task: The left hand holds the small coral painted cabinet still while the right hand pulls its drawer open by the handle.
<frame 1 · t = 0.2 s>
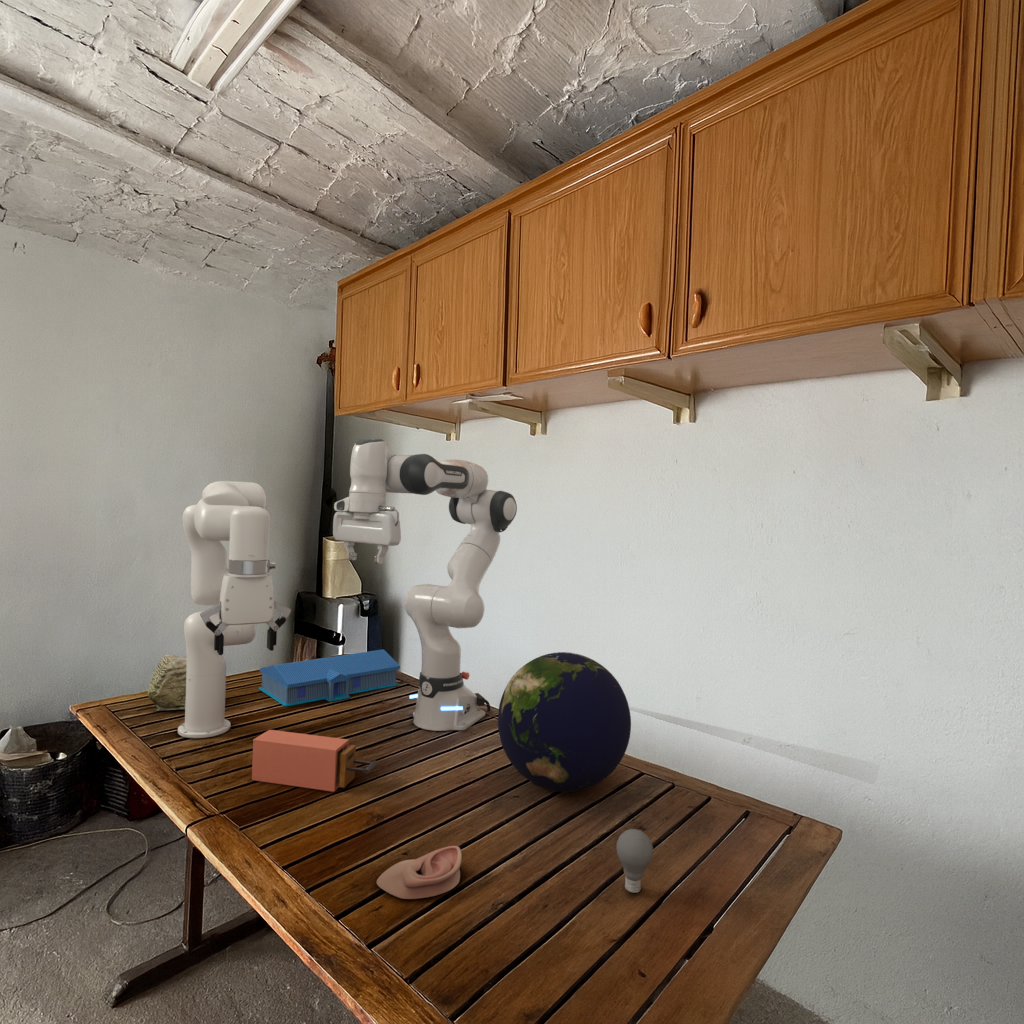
left hand: (245, 651, 130), 31 cm above the table, tool pointing down, fingers open, 9 cm apart
right hand: (365, 561, 154), 48 cm above the table, tool pointing down, fingers open, 8 cm apart
light bulb: (632, 891, 106), on the table
drawer: (322, 762, 140), point 5 cm above the table, slide at 0.8 cm
cabinet: (299, 779, 141), on the table
globe: (560, 786, 144), on the table
fossil: (183, 706, 185), on the table
anatomical model: (419, 880, 106), on the table
model building: (332, 688, 208), on the table
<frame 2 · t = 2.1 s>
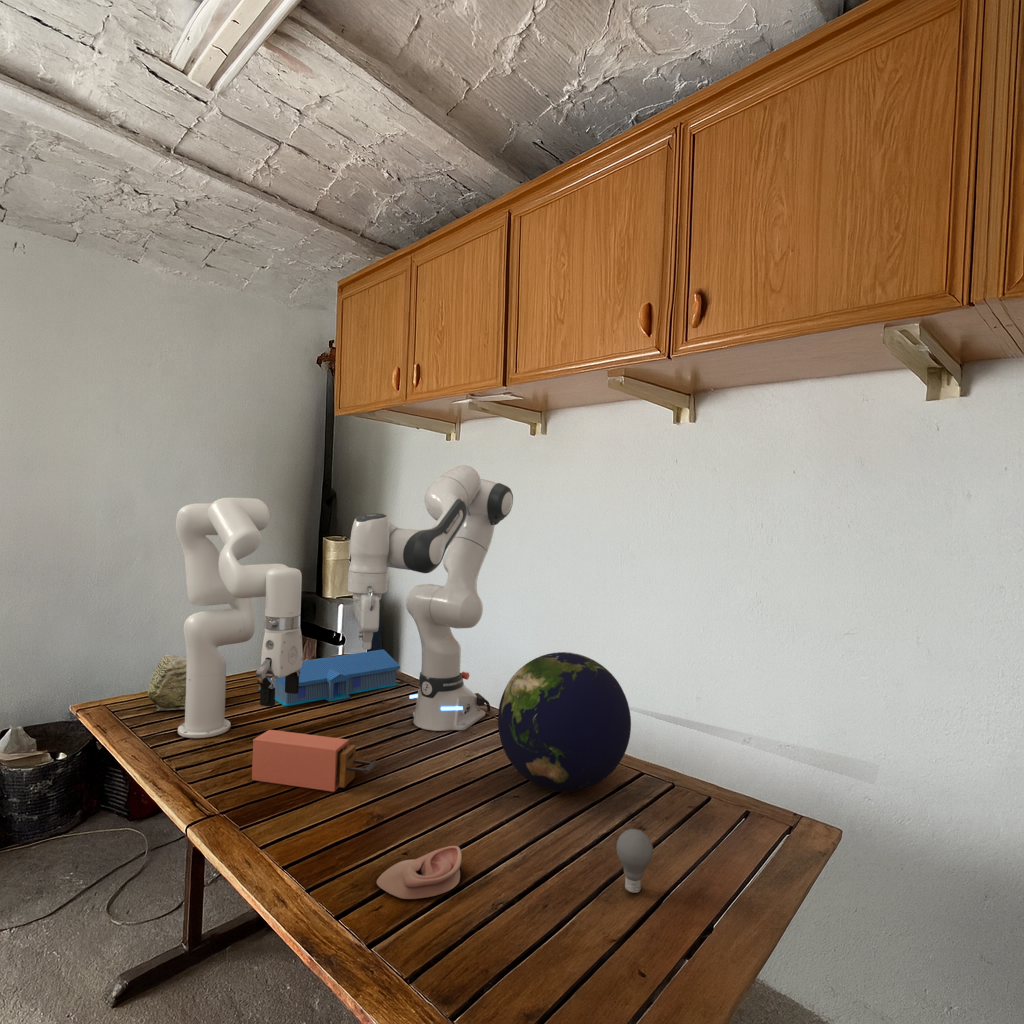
left hand: (279, 699, 142), 18 cm above the table, tool pointing down, fingers open, 9 cm apart
right hand: (364, 644, 145), 30 cm above the table, tool pointing down, fingers open, 8 cm apart
nothing on the table moved.
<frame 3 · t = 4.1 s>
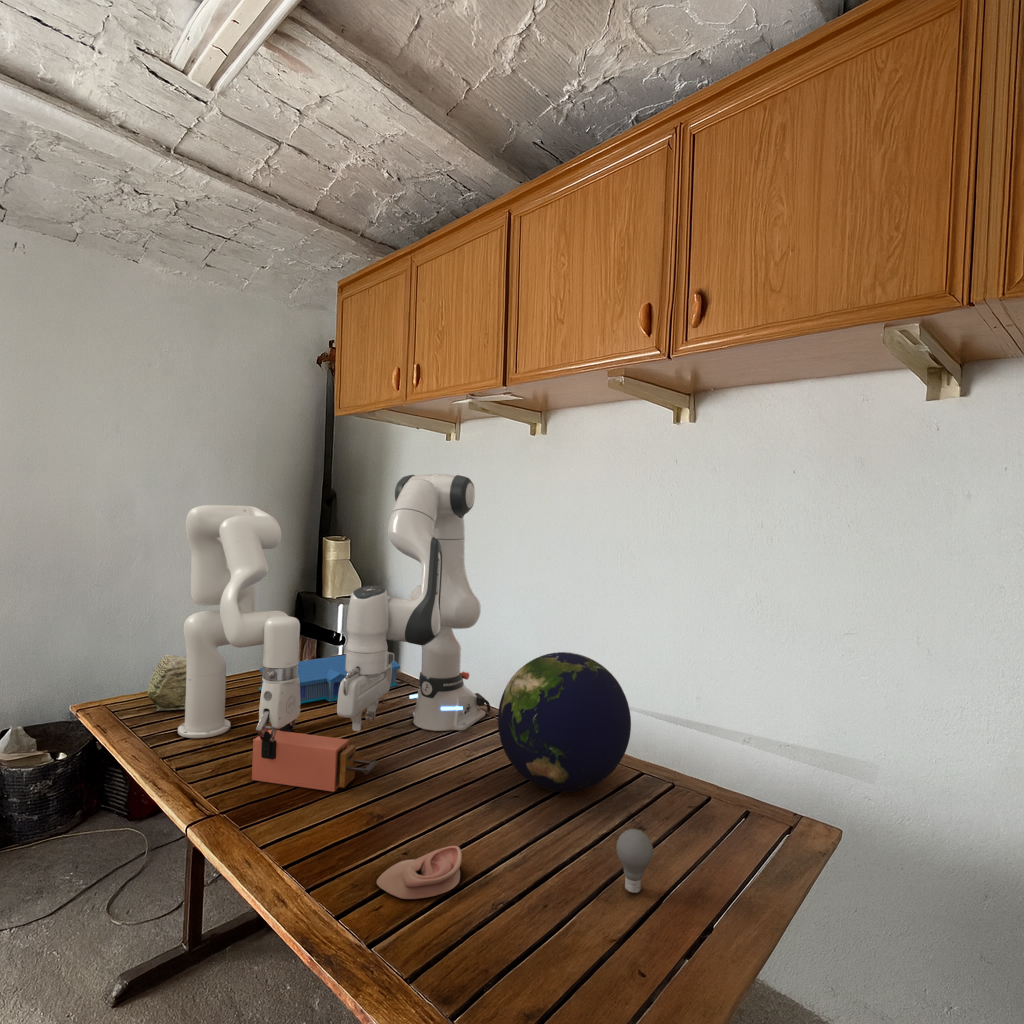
left hand: (277, 751, 142), 6 cm above the table, tool pointing down, fingers closed on cabinet, 6 cm apart
right hand: (364, 724, 138), 14 cm above the table, tool pointing down, fingers open, 5 cm apart
cabinet: (299, 779, 141), on the table, touching left hand
everything else where it was.
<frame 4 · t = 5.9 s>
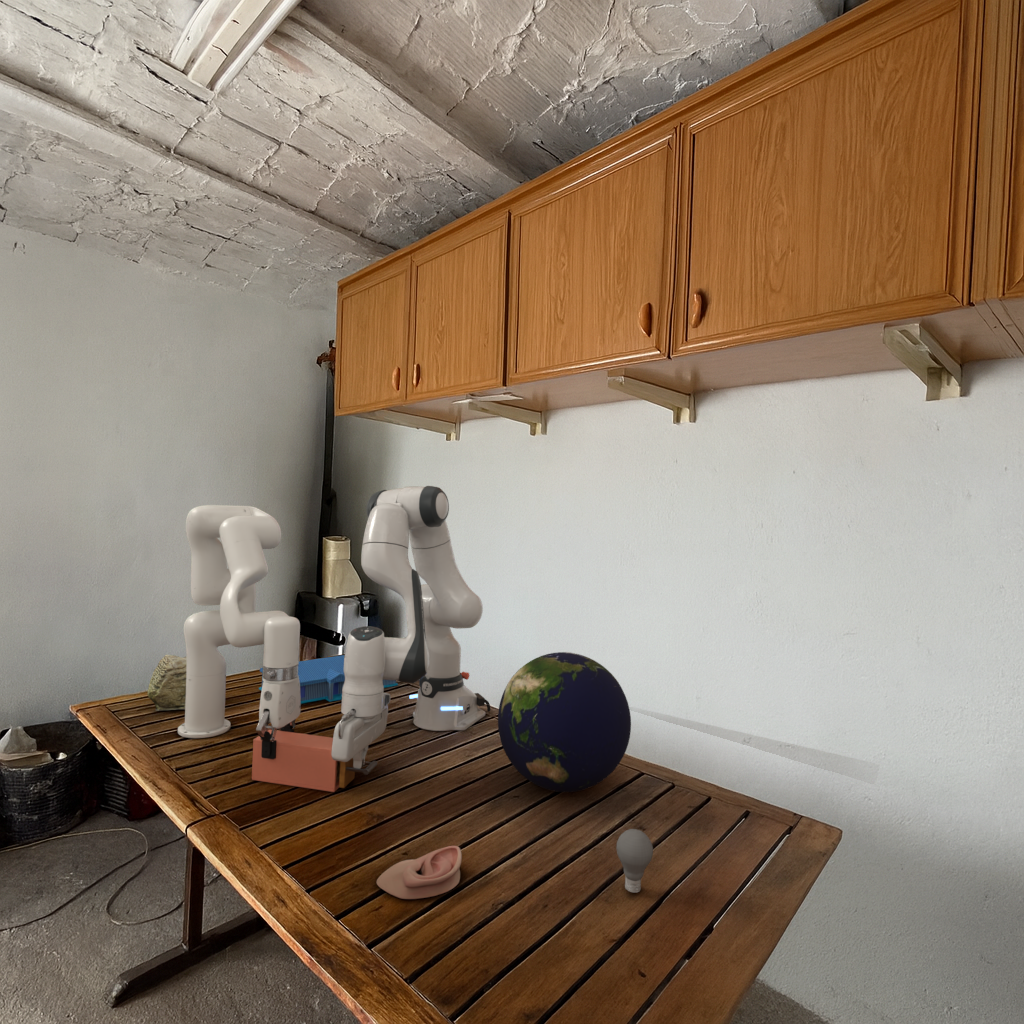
left hand: (277, 751, 142), 6 cm above the table, tool pointing down, fingers closed on cabinet, 6 cm apart
right hand: (358, 767, 138), 5 cm above the table, tool pointing down, fingers closed, pressing on drawer
drawer: (321, 762, 140), point 5 cm above the table, slide at 0.8 cm, touching right hand
cabinet: (299, 779, 141), on the table, touching left hand
everything else where it was.
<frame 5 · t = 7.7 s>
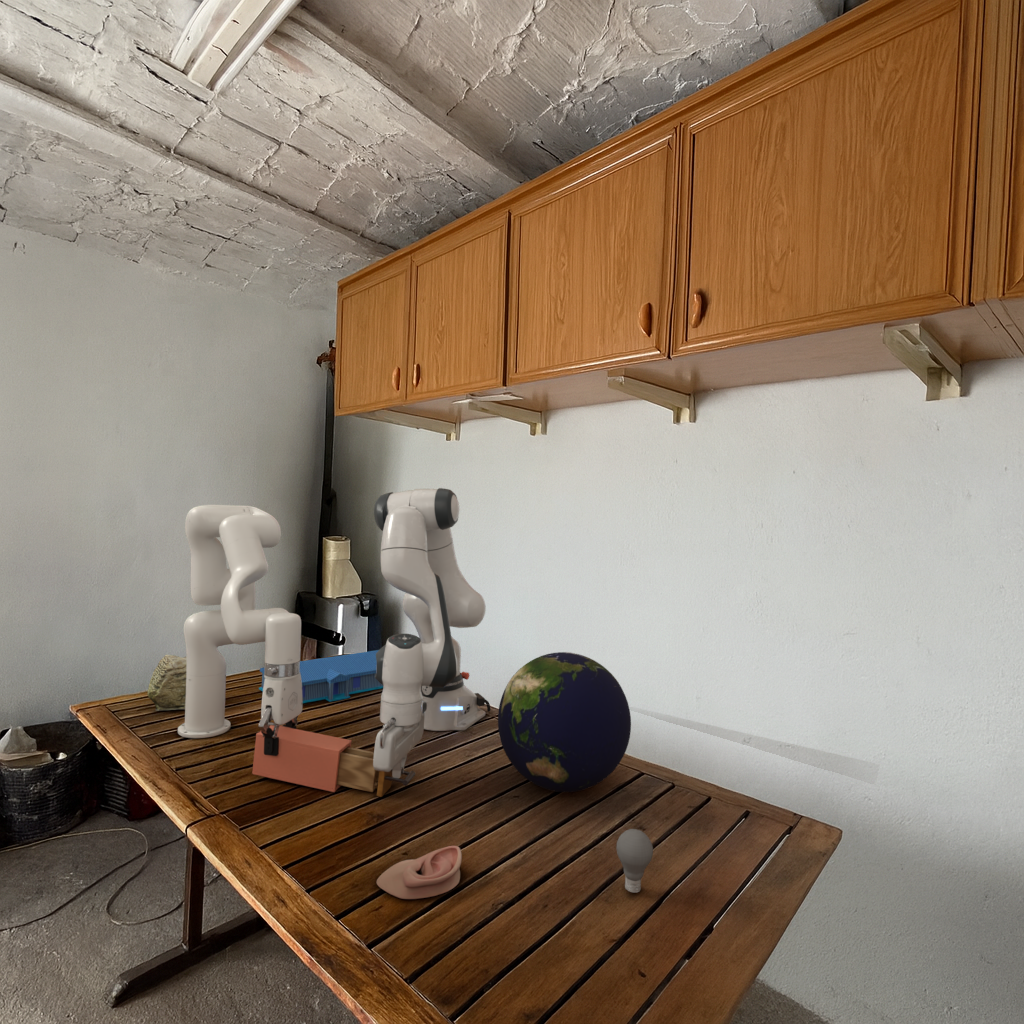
left hand: (280, 748, 142), 7 cm above the table, tool pointing down, fingers closed on cabinet, 6 cm apart
right hand: (397, 776, 136), 4 cm above the table, tool pointing down, fingers closed
drawer: (359, 769, 138), point 4 cm above the table, slide at 9.3 cm, touching right hand
cabinet: (300, 776, 141), point 1 cm above the table, touching left hand
everything else where it was.
when the left hand's fingers open (6 cm above the table, at t = 9.5 s): cabinet stays where it is, on the table.
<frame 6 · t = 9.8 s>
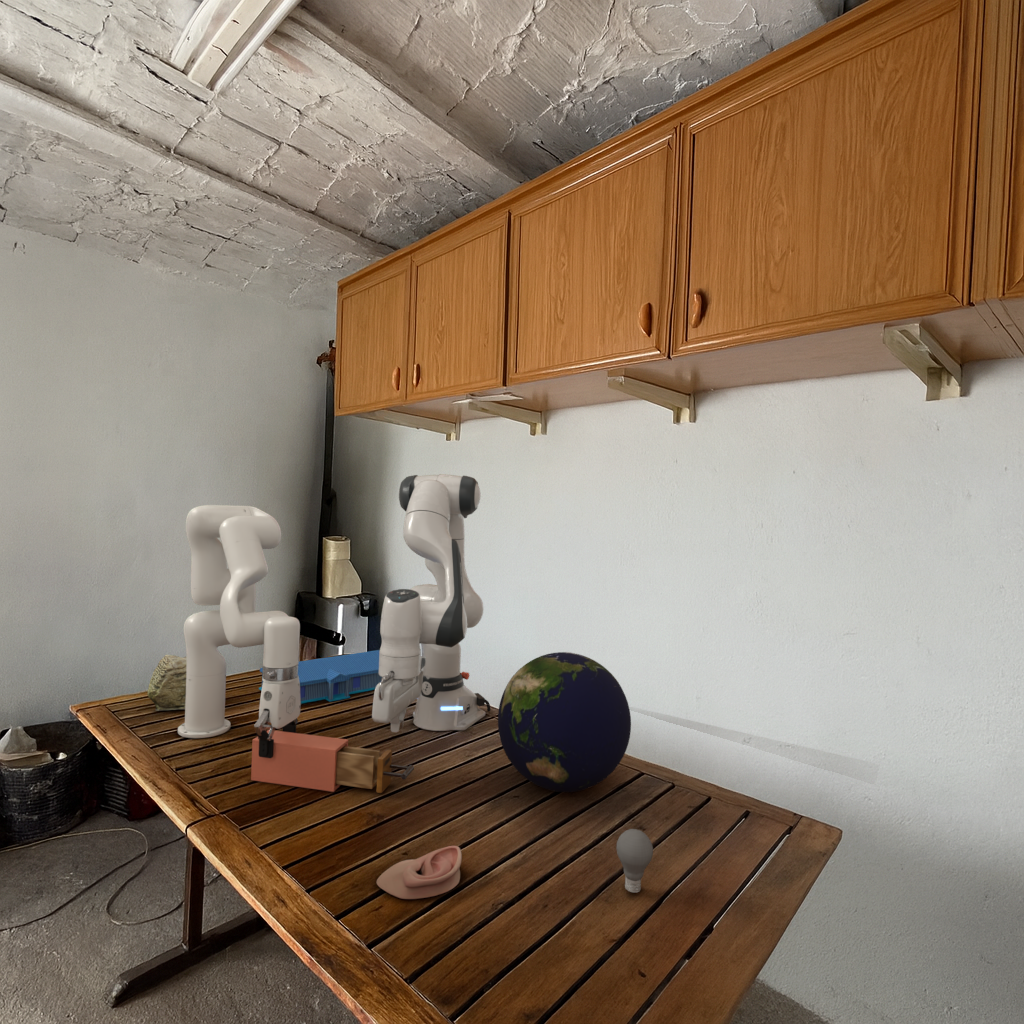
left hand: (277, 748, 142), 6 cm above the table, tool pointing down, fingers open, 8 cm apart
right hand: (397, 729, 137), 14 cm above the table, tool pointing down, fingers closed
drawer: (358, 767, 138), point 5 cm above the table, slide at 9.4 cm
cabinet: (299, 779, 141), on the table
everything else where it was.
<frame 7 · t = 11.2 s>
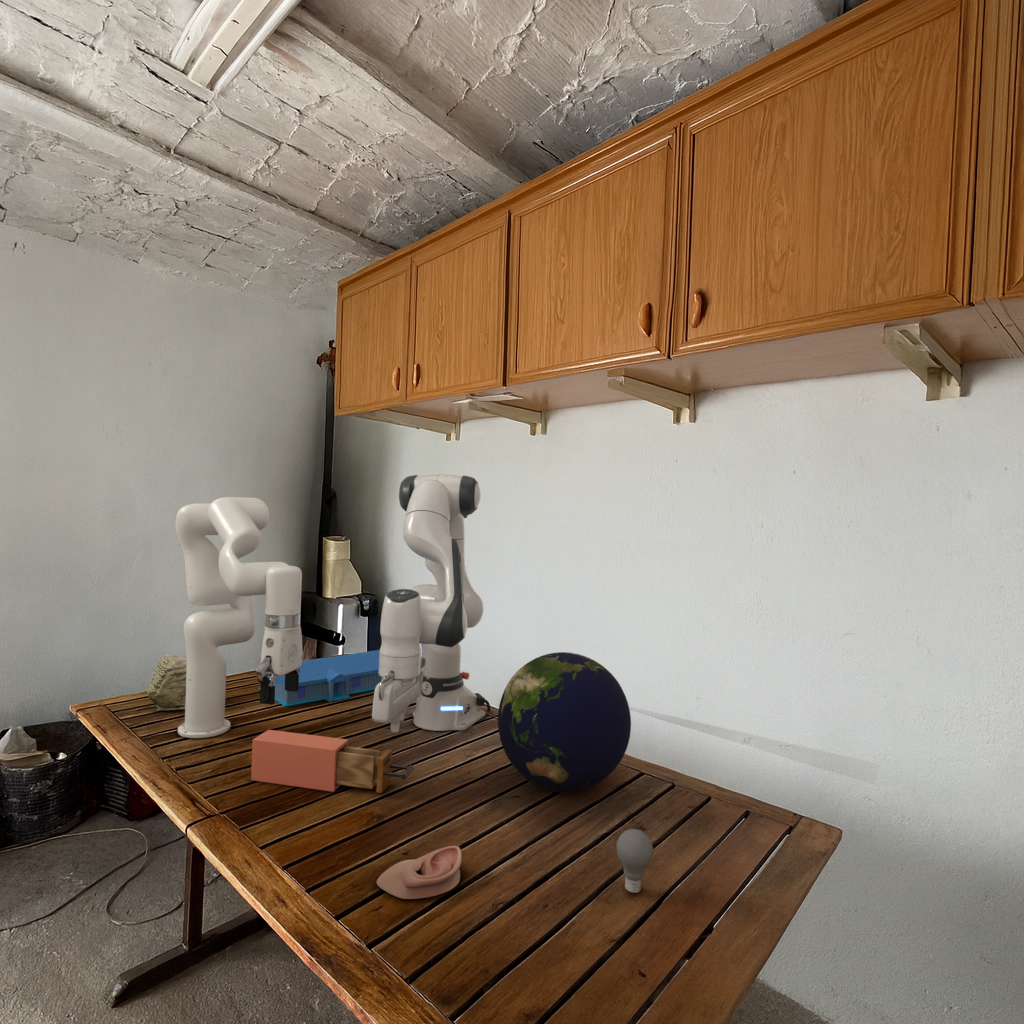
left hand: (279, 697, 142), 18 cm above the table, tool pointing down, fingers open, 9 cm apart
right hand: (397, 729, 137), 14 cm above the table, tool pointing down, fingers closed
nothing on the table moved.
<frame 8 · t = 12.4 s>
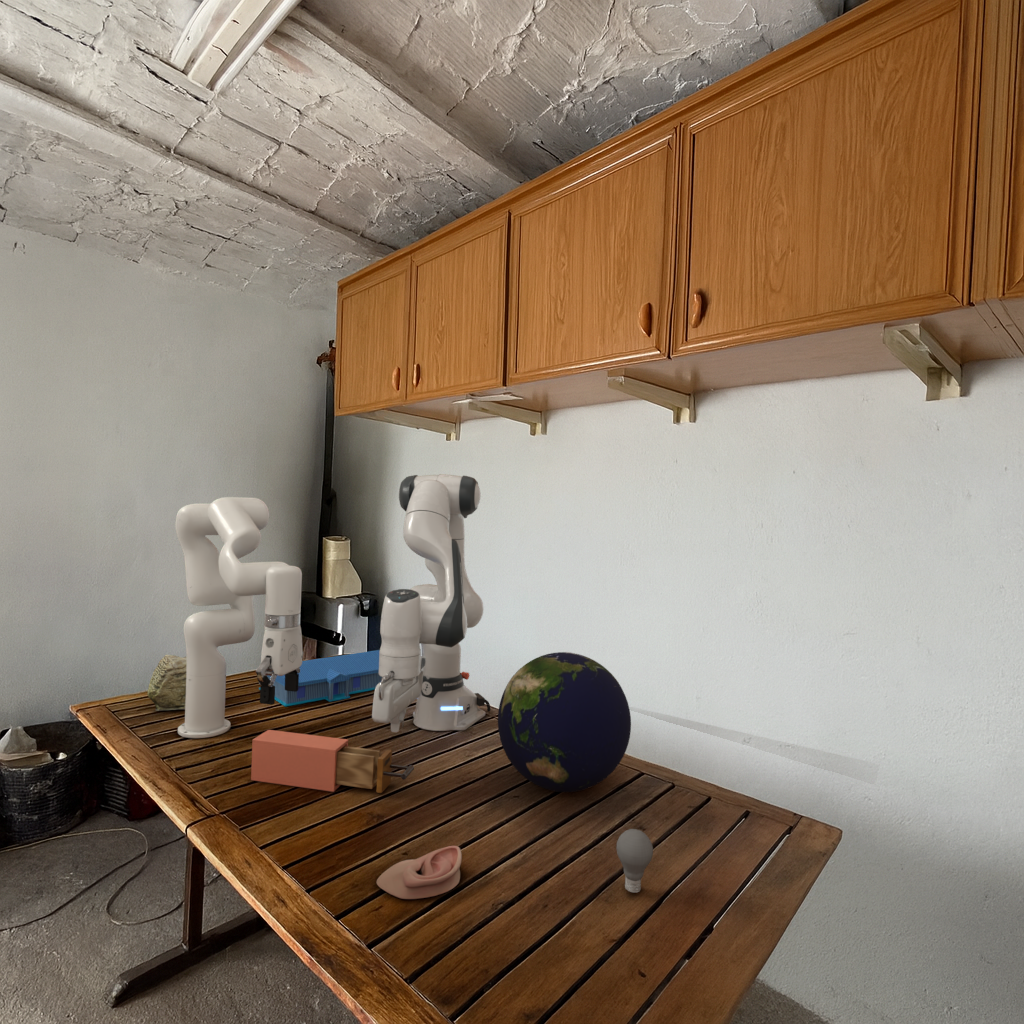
left hand: (279, 696, 142), 18 cm above the table, tool pointing down, fingers open, 9 cm apart
right hand: (397, 729, 137), 14 cm above the table, tool pointing down, fingers closed
nothing on the table moved.
at the end: drawer slide at 9.4 cm; cabinet tilted 0°; cabinet never tilted more than 5° during the clip; cabinet moved 0.1 cm from its start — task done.
